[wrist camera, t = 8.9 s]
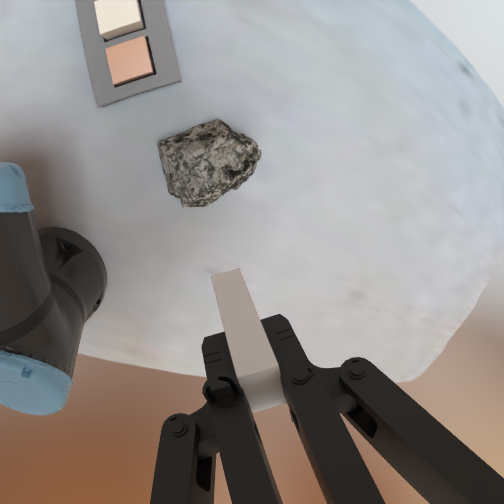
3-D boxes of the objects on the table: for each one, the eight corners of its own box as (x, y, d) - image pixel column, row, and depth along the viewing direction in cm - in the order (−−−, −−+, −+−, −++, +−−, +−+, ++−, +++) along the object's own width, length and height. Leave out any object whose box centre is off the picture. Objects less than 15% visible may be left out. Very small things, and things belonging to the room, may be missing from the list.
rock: (240, 97, 37) (198, 89, 28) (284, 155, 37) (251, 161, 29) (177, 157, 44) (130, 165, 35) (213, 210, 44) (170, 229, 36)
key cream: (107, 40, 26) (100, 34, 22) (101, 10, 24) (94, 1, 20) (143, 28, 26) (140, 20, 23) (137, -2, 24) (134, -13, 21)
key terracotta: (119, 85, 30) (113, 84, 27) (112, 53, 28) (105, 48, 24) (154, 74, 31) (152, 71, 27) (147, 41, 28) (144, 35, 25)
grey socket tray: (103, 106, 32) (97, 107, 29) (75, -52, 18) (69, -61, 16) (180, 81, 33) (181, 80, 30) (147, -76, 19) (146, -86, 17)
